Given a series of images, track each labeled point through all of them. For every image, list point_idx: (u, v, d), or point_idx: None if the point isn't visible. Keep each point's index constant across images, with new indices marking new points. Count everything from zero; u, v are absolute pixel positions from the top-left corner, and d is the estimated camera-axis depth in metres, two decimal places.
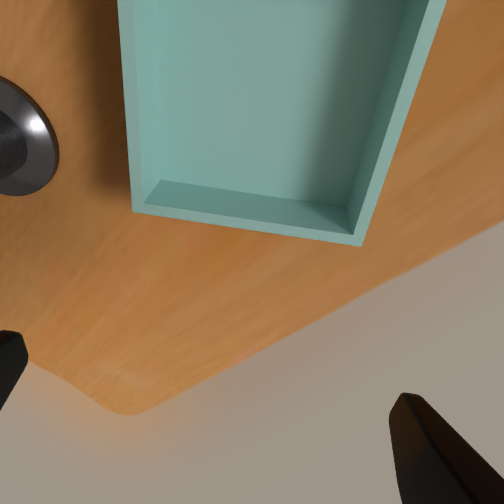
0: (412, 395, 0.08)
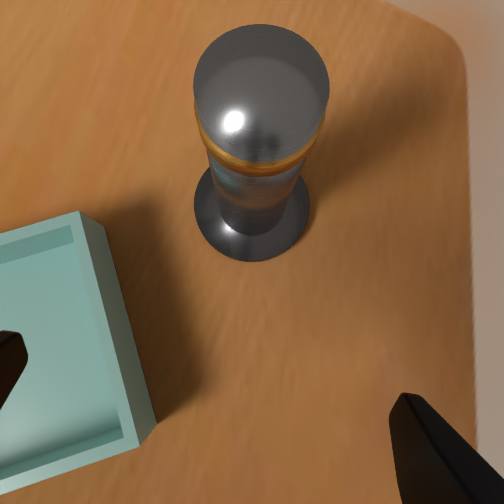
0: (412, 395, 0.08)
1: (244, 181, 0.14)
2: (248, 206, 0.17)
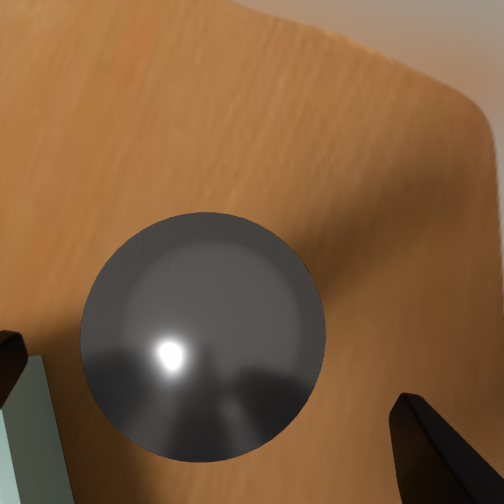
0: (412, 395, 0.08)
1: None
2: None
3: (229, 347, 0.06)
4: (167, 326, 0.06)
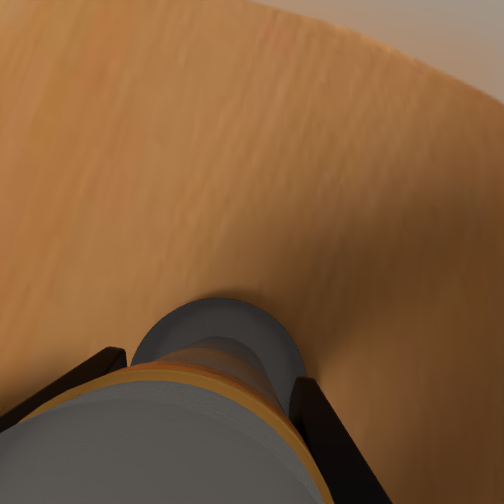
0: (305, 378, 0.08)
1: None
2: None
3: None
4: None
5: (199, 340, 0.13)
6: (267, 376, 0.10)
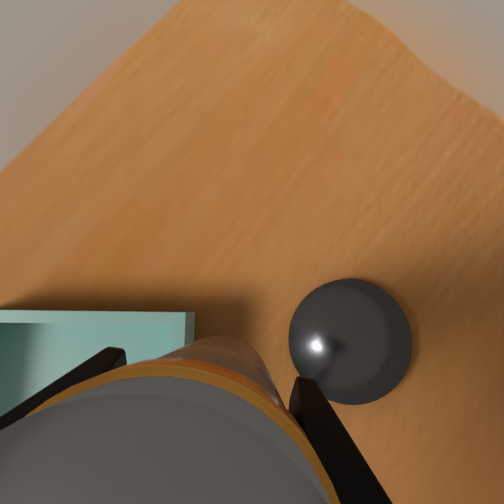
0: (305, 379, 0.08)
1: None
2: None
3: None
4: None
5: (200, 339, 0.13)
6: None
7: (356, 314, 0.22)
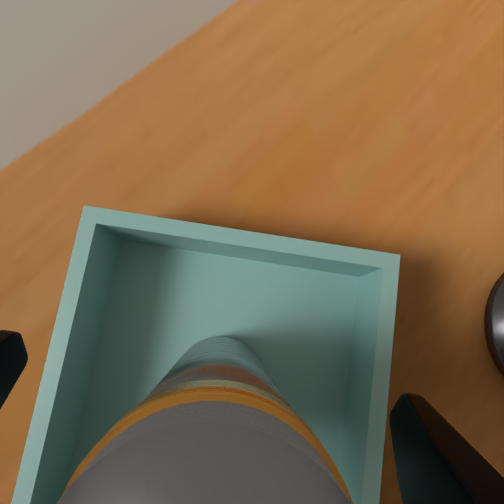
0: (413, 395, 0.08)
1: None
2: None
3: None
4: None
5: (205, 341, 0.15)
6: (271, 377, 0.12)
7: None
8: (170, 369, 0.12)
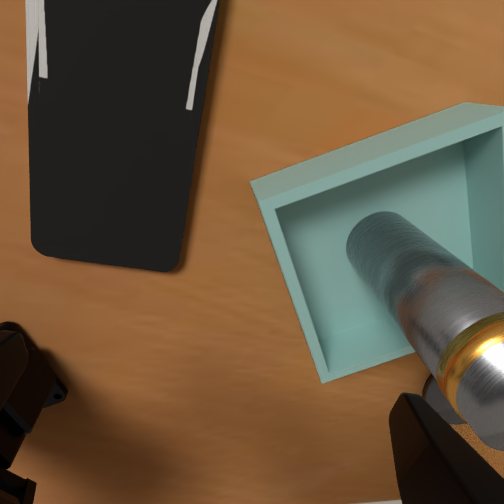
0: (412, 395, 0.08)
1: (427, 359, 0.14)
2: (391, 315, 0.17)
3: None
4: None
5: None
6: None
7: None
8: (437, 245, 0.17)
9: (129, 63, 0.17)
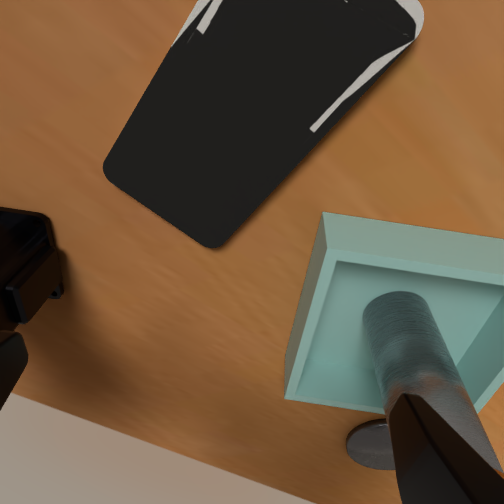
0: (411, 395, 0.08)
1: None
2: (385, 398, 0.19)
3: None
4: None
5: None
6: None
7: None
8: (451, 360, 0.19)
9: (285, 63, 0.16)
